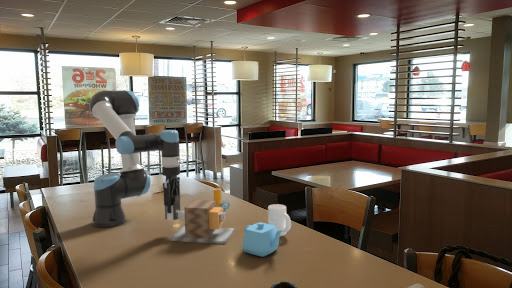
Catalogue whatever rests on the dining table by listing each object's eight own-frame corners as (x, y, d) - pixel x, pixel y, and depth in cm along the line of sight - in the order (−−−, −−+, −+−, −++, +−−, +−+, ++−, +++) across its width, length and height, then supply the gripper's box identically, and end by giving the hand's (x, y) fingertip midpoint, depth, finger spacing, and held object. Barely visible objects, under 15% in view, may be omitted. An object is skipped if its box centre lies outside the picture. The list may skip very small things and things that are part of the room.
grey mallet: (165, 219, 164) (164, 196, 163) (170, 215, 169) (169, 193, 168) (223, 222, 160) (222, 199, 158) (226, 218, 164) (225, 195, 163)
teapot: (274, 264, 135) (274, 233, 134) (235, 252, 146) (235, 223, 145) (292, 252, 145) (292, 223, 144) (254, 242, 156) (254, 215, 155)
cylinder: (224, 223, 180) (224, 192, 178) (203, 222, 182) (203, 191, 180) (231, 215, 192) (230, 186, 190) (211, 214, 194) (211, 186, 192)
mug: (283, 240, 157) (283, 212, 156) (264, 233, 166) (263, 206, 165) (296, 235, 163) (296, 208, 161) (277, 228, 172) (277, 203, 170)
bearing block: (170, 240, 159) (168, 208, 157) (184, 227, 175) (183, 198, 173) (225, 243, 155) (224, 210, 153) (234, 230, 170) (233, 200, 169)
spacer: (209, 228, 160) (209, 211, 159) (214, 223, 167) (214, 206, 166) (218, 229, 159) (218, 212, 158) (223, 223, 166) (222, 207, 165)
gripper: (170, 169, 154) (173, 225, 157) (186, 162, 172) (188, 212, 174) (153, 169, 155) (156, 224, 158) (171, 162, 173) (173, 211, 176)
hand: (173, 217), depth 166 cm, fingers closed on grey mallet, 5 cm apart
